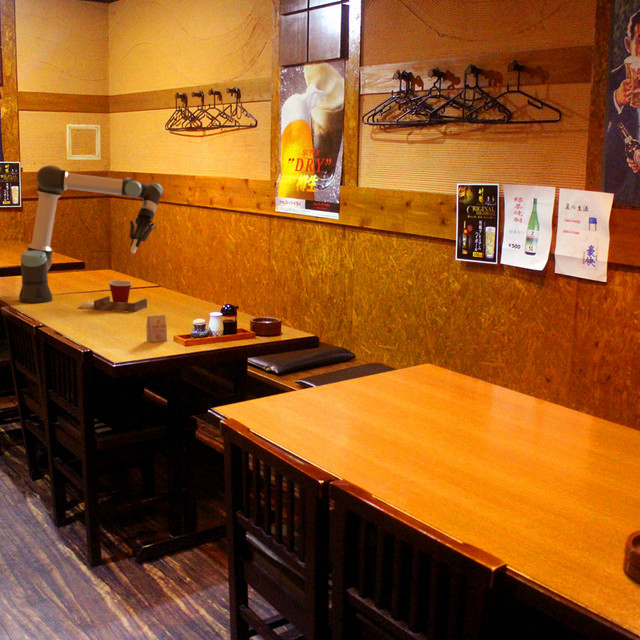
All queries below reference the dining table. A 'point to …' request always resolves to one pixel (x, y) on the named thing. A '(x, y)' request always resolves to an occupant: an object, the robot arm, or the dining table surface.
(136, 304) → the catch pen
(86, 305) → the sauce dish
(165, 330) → the printed paper bag
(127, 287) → the plastic cup
